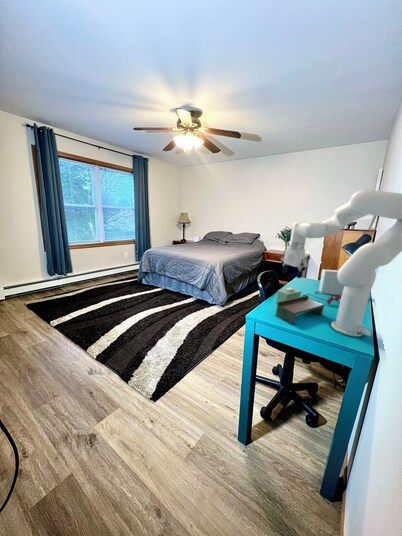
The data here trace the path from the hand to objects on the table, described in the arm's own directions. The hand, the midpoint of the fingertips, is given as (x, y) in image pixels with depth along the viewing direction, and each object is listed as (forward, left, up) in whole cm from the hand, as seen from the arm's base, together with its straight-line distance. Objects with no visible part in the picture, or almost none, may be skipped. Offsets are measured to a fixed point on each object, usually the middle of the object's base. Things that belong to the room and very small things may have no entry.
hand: (291, 275), depth 122 cm
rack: (-13, +7, -17) cm, 23 cm away
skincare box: (-2, -47, -17) cm, 50 cm away
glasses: (-4, -27, -17) cm, 32 cm away
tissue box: (0, 0, -17) cm, 17 cm away
